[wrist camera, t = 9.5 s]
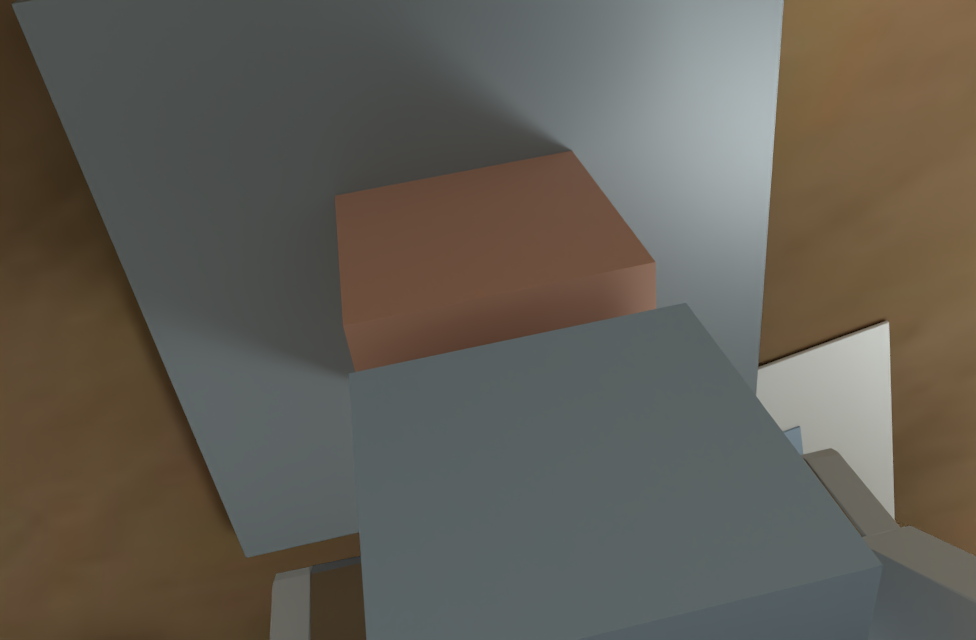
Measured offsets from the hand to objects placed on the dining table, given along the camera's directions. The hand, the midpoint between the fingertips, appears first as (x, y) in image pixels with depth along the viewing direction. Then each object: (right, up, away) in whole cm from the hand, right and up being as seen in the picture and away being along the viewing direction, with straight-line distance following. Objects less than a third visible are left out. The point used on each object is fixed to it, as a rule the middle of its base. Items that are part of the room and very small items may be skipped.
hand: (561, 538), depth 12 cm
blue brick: (0, +1, +1) cm, 2 cm away
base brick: (-1, +4, +7) cm, 8 cm away
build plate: (-2, +5, +7) cm, 9 cm away
